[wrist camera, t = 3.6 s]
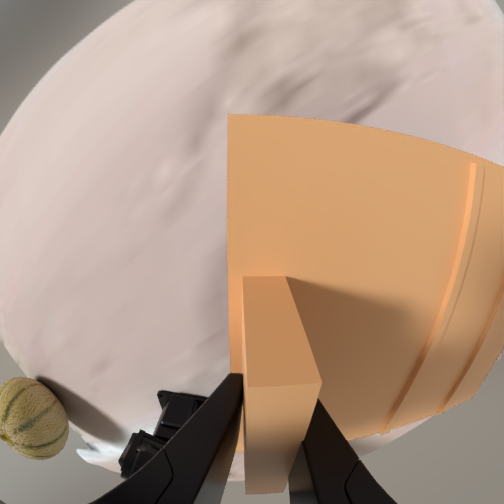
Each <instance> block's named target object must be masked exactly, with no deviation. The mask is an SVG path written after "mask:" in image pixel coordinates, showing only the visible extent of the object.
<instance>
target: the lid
mask: <svg viewBox="0 0 504 504" xmlns="http://www.w3.org/2000/svg"><path fill="white" fill-rule="evenodd" d="M227 256H228V310H229V344H230V371H231V373H242V374H243V406H242V415H241V424H240V432H239V438H238V443H237V447H236V450H235V452H244V468H245V489H246V494H268V493H280V492H283V491H284V489H285V487H286V485H287V482H288V476H289V474H290V471H291V468H292V466H293V463H294V460H295V458H296V455H297V452H298V449H299V447H300V444H301V441H303V440H304V438H305V435H306V432H307V429H308V427H309V424H310V420H311V417H312V414H313V411H314V408H315V405H316V402H317V398H319V400H320V401H321V403H322V404H323V406H324V407H325V409H326V410H327V412H328V413H329V415H330V416H331V418H332V419H333V421H334V422H335V424H336V425H337V427H338V428H339V430H340V431H341V432H342V434H343V435H344V437H345V438H346V440H347V441H348V440H353V439H357V438H362V437H366V436H370V435H374V434H377V433H381V435H382V434H385V433H389V431H390V430H392V429H395V428H398V427H401V426H404V425H407V424H410V423H413V422H416V421H419V420H422V419H424V418H427V417H430V416H432V415H435V414H437V413H438V414H439V415H440V414H442V413H444V412H445V411H446V410H447V409H449V408H451V407H454V406H456V405H458V404H460V403H462V402H464V401H467V400H468V399H471V398H473V396H474V395H475V394H476V392H477V391H478V389H479V387H480V386H481V385H482V383H483V381H484V380H485V378H486V377H487V375H488V373H489V372H490V370H491V368H492V367H493V365H494V363H495V361H496V360H497V358H498V356H499V354H500V352H501V351H502V349H503V347H504V167H503V166H501V165H498V164H496V163H493V162H491V161H488V160H486V159H483V158H481V157H478V156H475V155H472V154H470V153H467V152H464V151H461V150H458V149H455V148H452V147H449V146H446V145H442V144H439V143H436V142H432V141H429V140H425V139H421V138H417V137H413V136H409V135H405V134H401V133H397V132H392V131H388V130H383V129H378V128H373V127H367V126H362V125H356V124H350V123H343V122H336V121H328V120H320V119H311V118H300V117H288V116H272V115H242V114H228V158H227Z"/></svg>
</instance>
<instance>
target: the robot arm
mask: <svg viewBox="0 0 504 504" xmlns="http://www.w3.org/2000/svg"><path fill="white" fill-rule="evenodd" d="M157 396H158V399H159V402H160V405H161V408H162V410H163V411H162V413H161V416H160V418H159V421H158V423H157V426H156V428H155V431H154V433H153V435H150V434H148V433H146V432H145V431H143V430H141V429H140V431H139V433H133V434H132V436H131V438H130V440H129V443H128V445H127V446H126V448H125V450H124V451H123V453H122V455H121V457H120V458H119V461H118V462H119V464H120V466H121V471H122V473H121V478H123V479H125V481H124V482H122V483H121V484H119V485H118V486H116V487H115V488H113V489H112V490H110V491H109V492H107V493H106V494H104V495H103V496H101V497H100V498H98V499H97V500H95V501H93V502H91V503H89V504H220V502H221V499H222V495H223V492H224V489H225V485H226V482H227V479H228V475H229V472H230V468H231V465H232V461H233V457H234V454H235V450H236V447H237V443H238V438H239V432H240V424H241V415H242V406H243V374H242V373H229V374H228V375H227V377H226V378H225V379H224V380H223V381H222V383H221V384H220V385H219V386H218V387H217V388H216V390H215V391H214V392H213V393H212V394H211V395H210V396H209V398H208V399H206V398H199V397H192V396H186V395H181V394H175V393H170V392H165V391H158V393H157ZM288 482H289V495H290V504H397V503H396V502H395V501H394V500H393V499H392V498H391V497H390V496H389V495H388V494H387V493H386V492H385V490H384V489H383V488H382V487H381V486H380V485H379V484H378V483H377V482H376V480H375V479H374V478H373V476H372V475H371V474H370V472H369V471H368V470H367V469H366V467H365V466H364V464H363V463H362V462H361V460H359V457H358V456H357V454H356V453H355V451H354V450H353V449H352V447H351V446H350V444H349V443H348V441H347V440H346V438H345V437H344V435H343V434H342V432H341V431H340V430H339V428H338V427H337V425H336V424H335V422H334V421H333V419H332V418H331V416H330V415H329V413H328V412H327V410H326V409H325V407H324V406H323V404H322V403H321V401H320V400H319V398H317V402H316V405H315V408H314V411H313V414H312V417H311V420H310V424H309V427H308V429H307V432H306V435H305V438H304V440H303V441H301V444H300V447H299V449H298V452H297V455H296V458H295V460H294V463H293V466H292V468H291V471H290V474H289V476H288ZM0 504H5V503H4V502H2V501H1V500H0Z"/></svg>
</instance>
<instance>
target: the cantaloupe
mask: <svg viewBox="0 0 504 504" xmlns="http://www.w3.org/2000/svg"><path fill="white" fill-rule="evenodd" d="M68 433H69V423H68V420H67V416H66V413H65V410H64V408H63V406H62V404H61V403H60V401H59V400H58V399H57V397H56V396H55V395H54V394H53V393H52V392H51V391H50V389H48V388H47V387H45V386H44V385H43V384H42V383H40V382H38V381H36V380H34V379H31V378H26V377H17V378H12V379H9V380H8V381H7V382H5V383H3V384H2V385H1V386H0V439H2V440H3V441H6V443H7V444H8V445H9V446H10V447H11V448H13V449H14V450H15V451H16V452H18V453H19V454H21V455H23V456H25V457H27V458H30V459H35V460H44V459H48V458H52V457H54V456H55V455H57V454H58V453H59V452H60V451H61V450H62V449H63V448H64V446H65V444H66V441H67V438H68Z"/></svg>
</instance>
